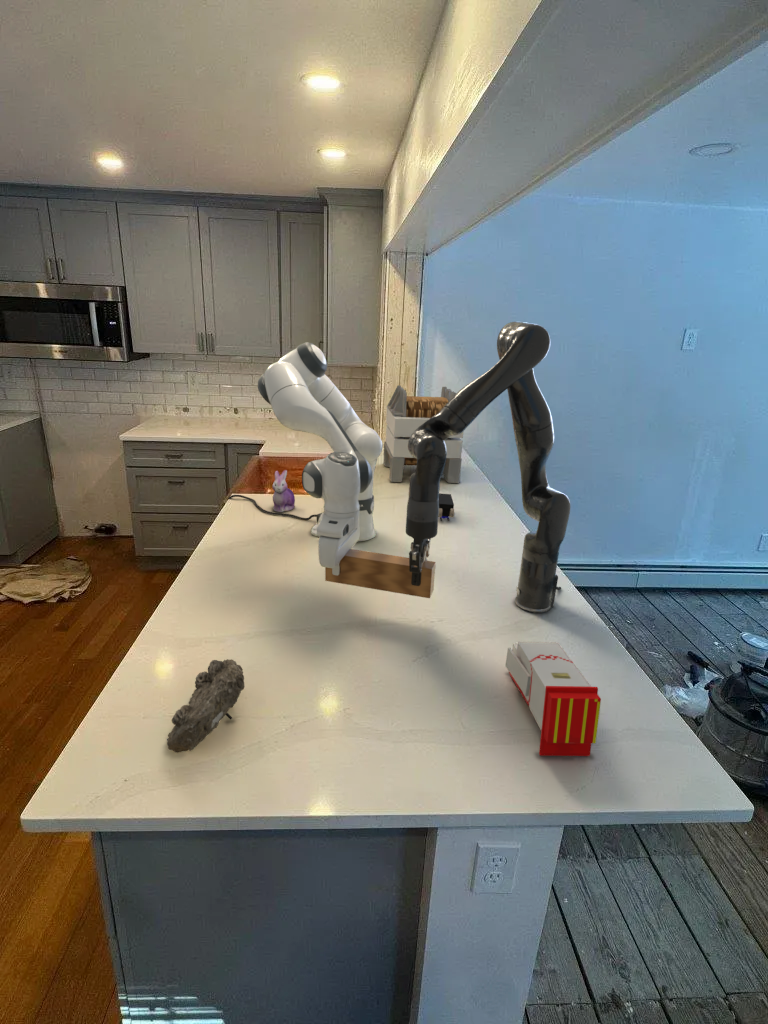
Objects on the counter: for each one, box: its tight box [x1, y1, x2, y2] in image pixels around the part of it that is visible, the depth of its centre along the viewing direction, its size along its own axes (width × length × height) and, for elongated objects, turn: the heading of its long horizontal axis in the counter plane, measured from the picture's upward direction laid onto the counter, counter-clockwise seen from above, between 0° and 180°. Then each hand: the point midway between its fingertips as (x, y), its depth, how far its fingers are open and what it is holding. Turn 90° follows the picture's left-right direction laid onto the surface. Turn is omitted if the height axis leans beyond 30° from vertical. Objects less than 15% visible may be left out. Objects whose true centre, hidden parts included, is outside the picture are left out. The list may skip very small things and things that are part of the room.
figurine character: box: [438, 492, 455, 522], centre depth 217 cm, size 7×8×15 cm
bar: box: [324, 548, 436, 599], centre depth 142 cm, size 27×4×8 cm, turn 74°
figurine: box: [272, 469, 296, 513], centre depth 217 cm, size 9×10×15 cm
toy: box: [505, 641, 602, 757], centre depth 113 cm, size 12×13×30 cm
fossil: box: [166, 658, 245, 754], centre depth 106 cm, size 22×10×15 cm
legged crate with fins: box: [383, 384, 465, 484], centre depth 268 cm, size 34×33×41 cm
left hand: (340, 569), depth 145 cm, fingers closed on bar, 4 cm apart
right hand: (418, 580), depth 139 cm, fingers closed on bar, 4 cm apart
